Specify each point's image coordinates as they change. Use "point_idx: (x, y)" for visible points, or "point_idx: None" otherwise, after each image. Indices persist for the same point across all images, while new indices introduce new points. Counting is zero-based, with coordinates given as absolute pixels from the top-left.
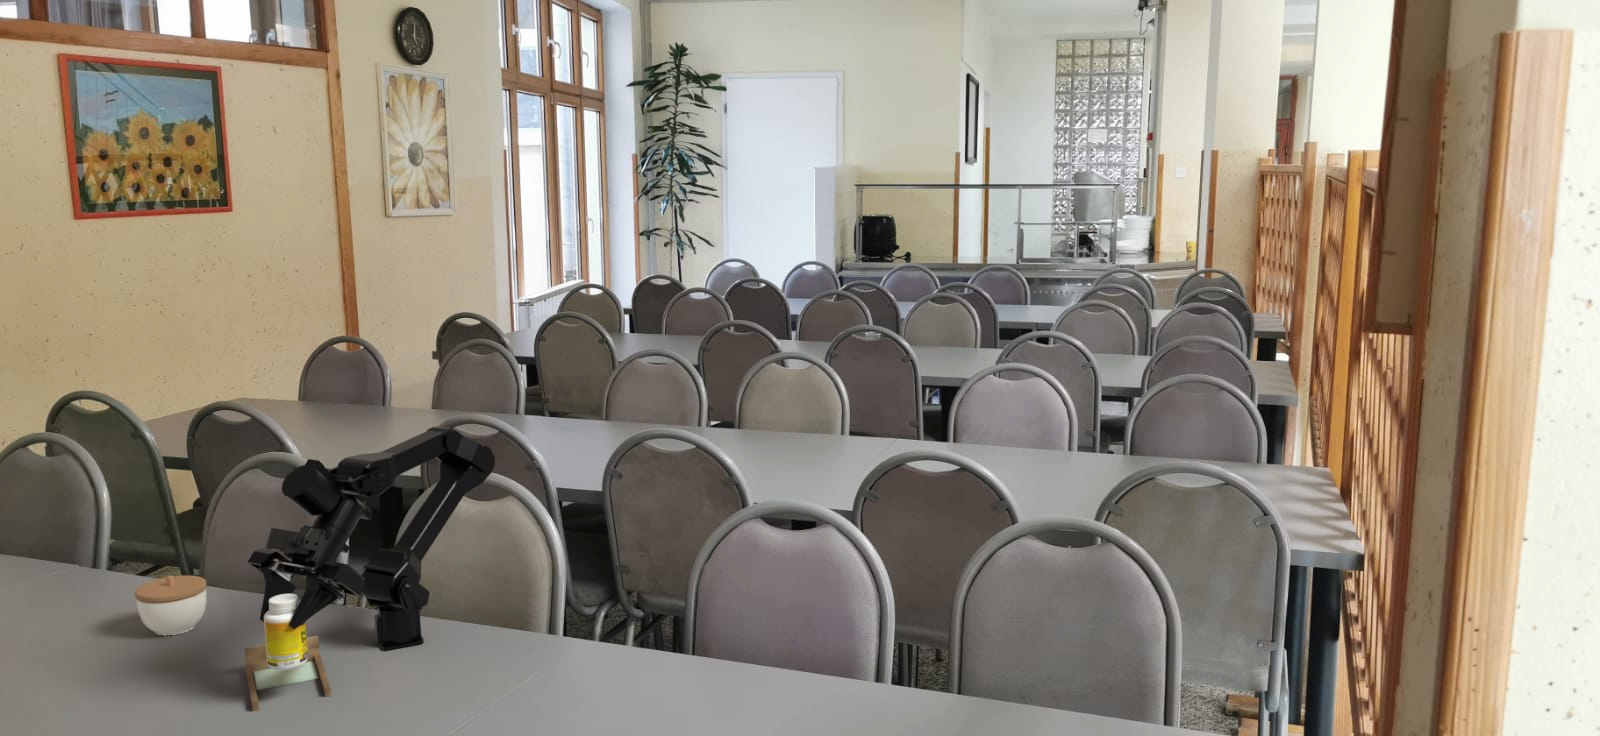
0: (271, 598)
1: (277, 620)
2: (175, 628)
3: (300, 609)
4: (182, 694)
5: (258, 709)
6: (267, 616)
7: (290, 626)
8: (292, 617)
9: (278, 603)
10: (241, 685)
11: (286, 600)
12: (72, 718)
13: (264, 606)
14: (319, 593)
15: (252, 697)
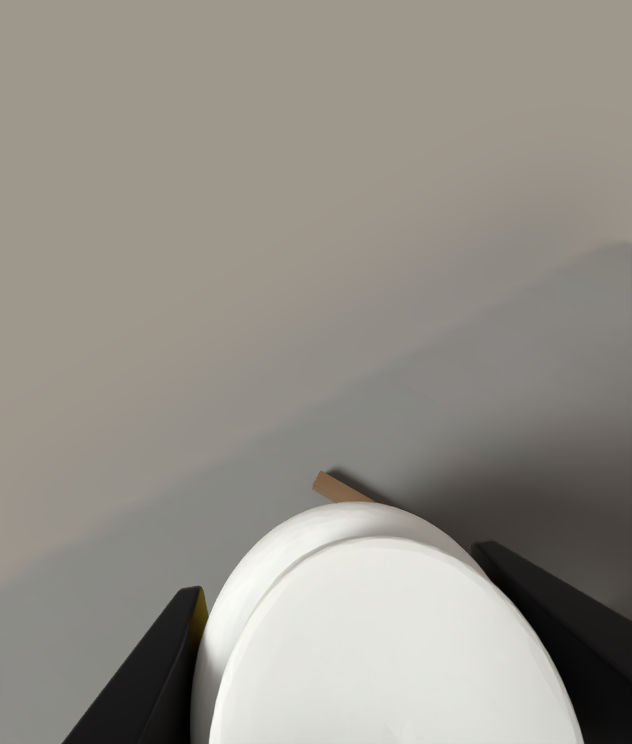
0: (509, 625)
1: (271, 531)
2: None
3: (73, 734)
4: (553, 438)
5: (313, 488)
6: (374, 511)
7: (190, 588)
8: (179, 633)
9: (292, 571)
10: None
11: (283, 708)
12: (572, 281)
13: (565, 603)
14: None
15: (354, 493)
